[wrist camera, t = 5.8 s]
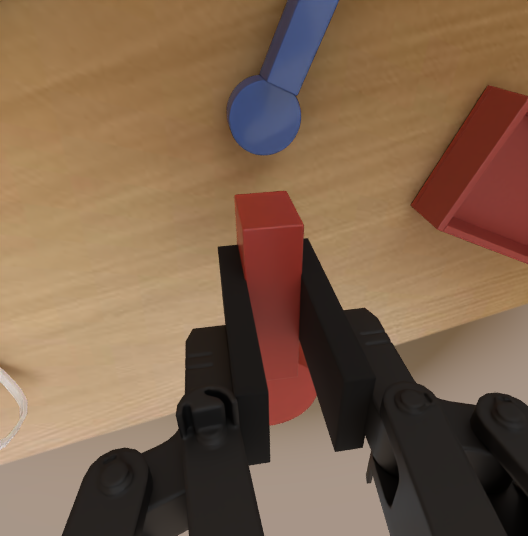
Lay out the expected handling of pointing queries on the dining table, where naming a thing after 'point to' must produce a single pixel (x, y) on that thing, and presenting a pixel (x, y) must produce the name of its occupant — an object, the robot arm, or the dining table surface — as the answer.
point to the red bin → (484, 178)
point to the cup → (20, 399)
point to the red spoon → (276, 296)
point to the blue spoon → (279, 80)
